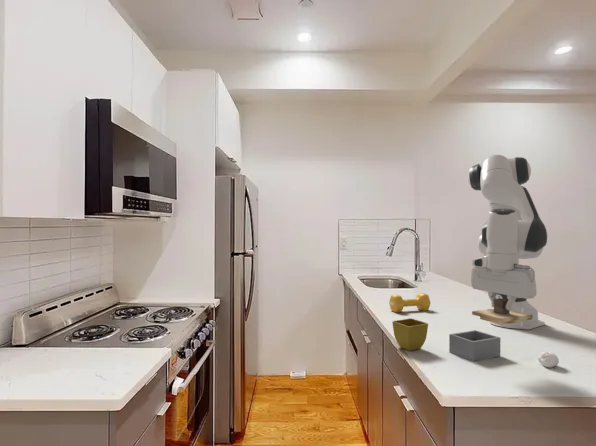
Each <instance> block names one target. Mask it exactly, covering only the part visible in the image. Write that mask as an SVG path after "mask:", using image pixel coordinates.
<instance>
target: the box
mask: <svg viewBox="0 0 596 446" xmlns="http://www.w3.org/2000/svg"><path fill="white" fill-rule="evenodd" d="M448 341H449V345H448V346H449V349H448V352H449V353H451V354H452V355H456V356H459V357H461V358H464V359H467V360H469V361H471V362H478V361H482V360H486V359H492V358H498V357H501V337H499V336H496V335H492V334H490V333H487V332H484V331H483V332H482V331H480V330H476V329H475V330H468V331H461V332H455V333H449V340H448Z"/></svg>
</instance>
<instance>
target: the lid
mask: <svg viewBox="0 0 596 446" xmlns="http://www.w3.org/2000/svg"><path fill="white" fill-rule="evenodd" d="M507 302H508V300H506V299H501V298H500V299H494V309H491V308H488V309H487V308H486V309H479V310H472V312H471V315H472V316H476V317H479V319H480V320H482V321H485V322H489V323H490V322H493V323H497V324H501V325H502V324H509V323H516V322H523V319H529V318H532V315H531V314H526V313H522V312H518V311H513V310H511V311H508V310H505V309H504V304H507Z"/></svg>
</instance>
